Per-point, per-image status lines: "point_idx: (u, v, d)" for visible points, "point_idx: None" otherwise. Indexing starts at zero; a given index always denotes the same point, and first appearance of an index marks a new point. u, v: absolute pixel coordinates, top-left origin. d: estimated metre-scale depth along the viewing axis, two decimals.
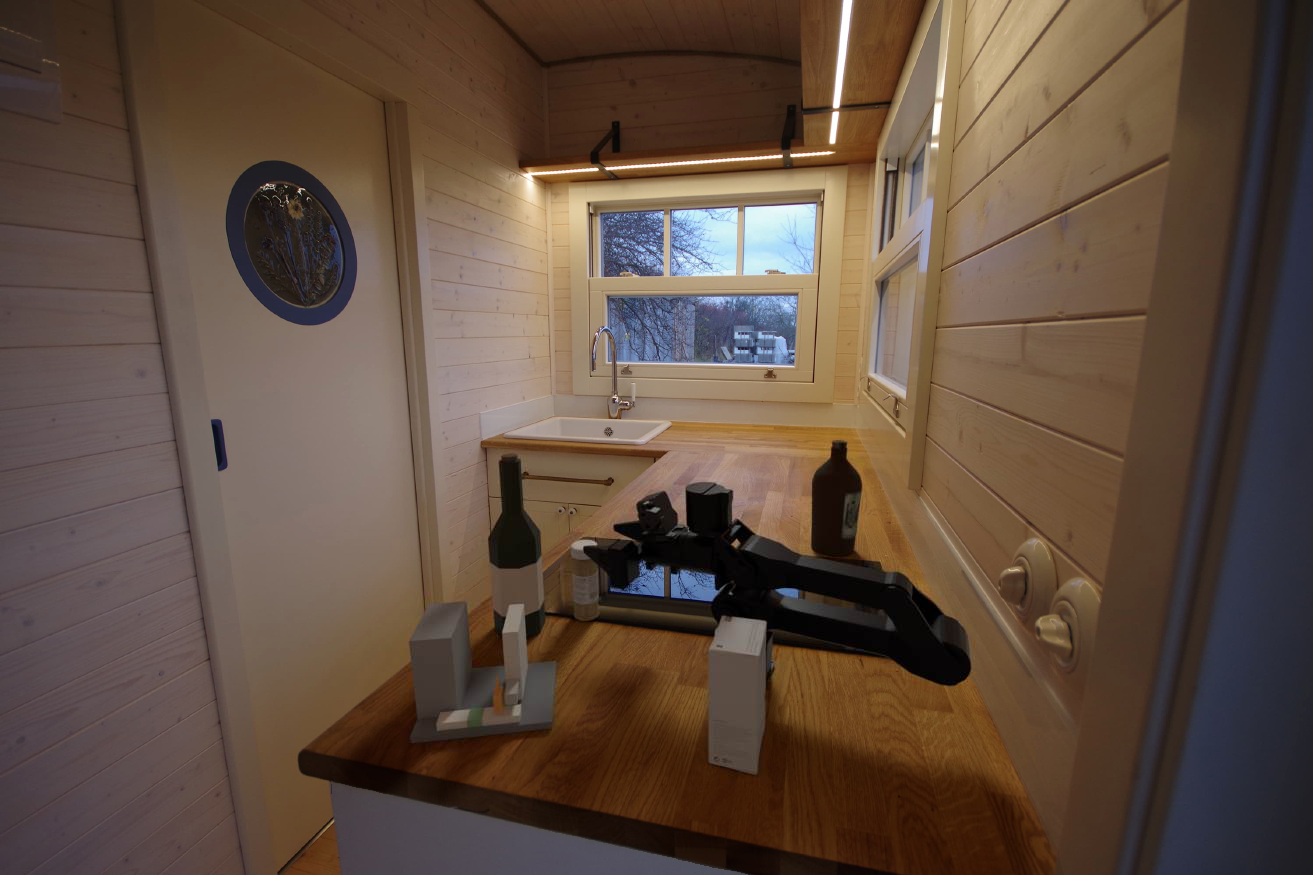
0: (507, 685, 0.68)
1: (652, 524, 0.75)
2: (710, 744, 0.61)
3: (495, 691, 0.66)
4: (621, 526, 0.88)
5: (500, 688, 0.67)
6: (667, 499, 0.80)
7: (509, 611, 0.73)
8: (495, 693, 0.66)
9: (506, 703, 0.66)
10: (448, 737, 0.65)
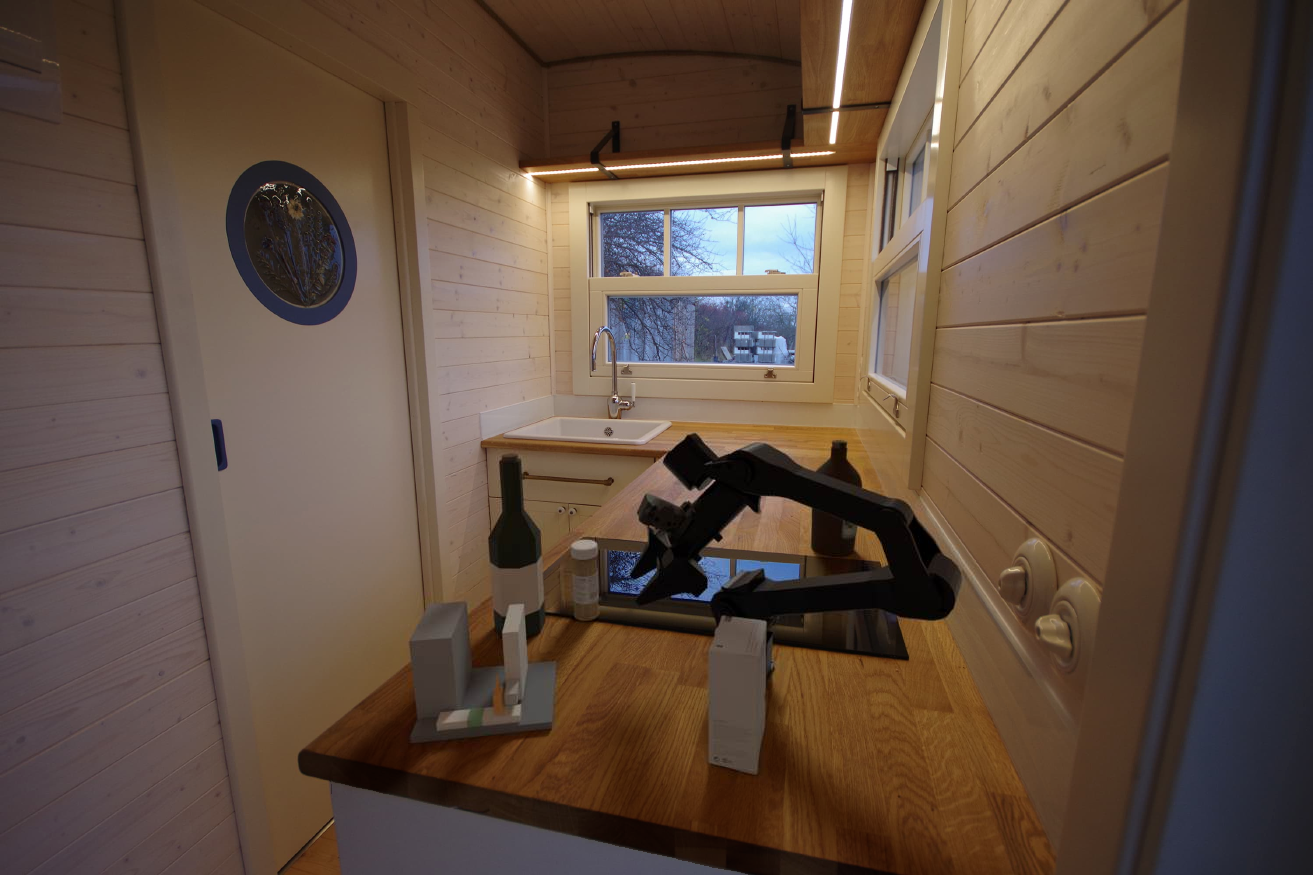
0: (507, 685, 0.68)
1: (671, 518, 0.70)
2: (710, 744, 0.61)
3: (495, 691, 0.66)
4: (637, 568, 0.79)
5: (500, 688, 0.67)
6: (654, 496, 0.75)
7: (509, 611, 0.73)
8: (495, 693, 0.66)
9: (506, 703, 0.66)
10: (448, 737, 0.65)
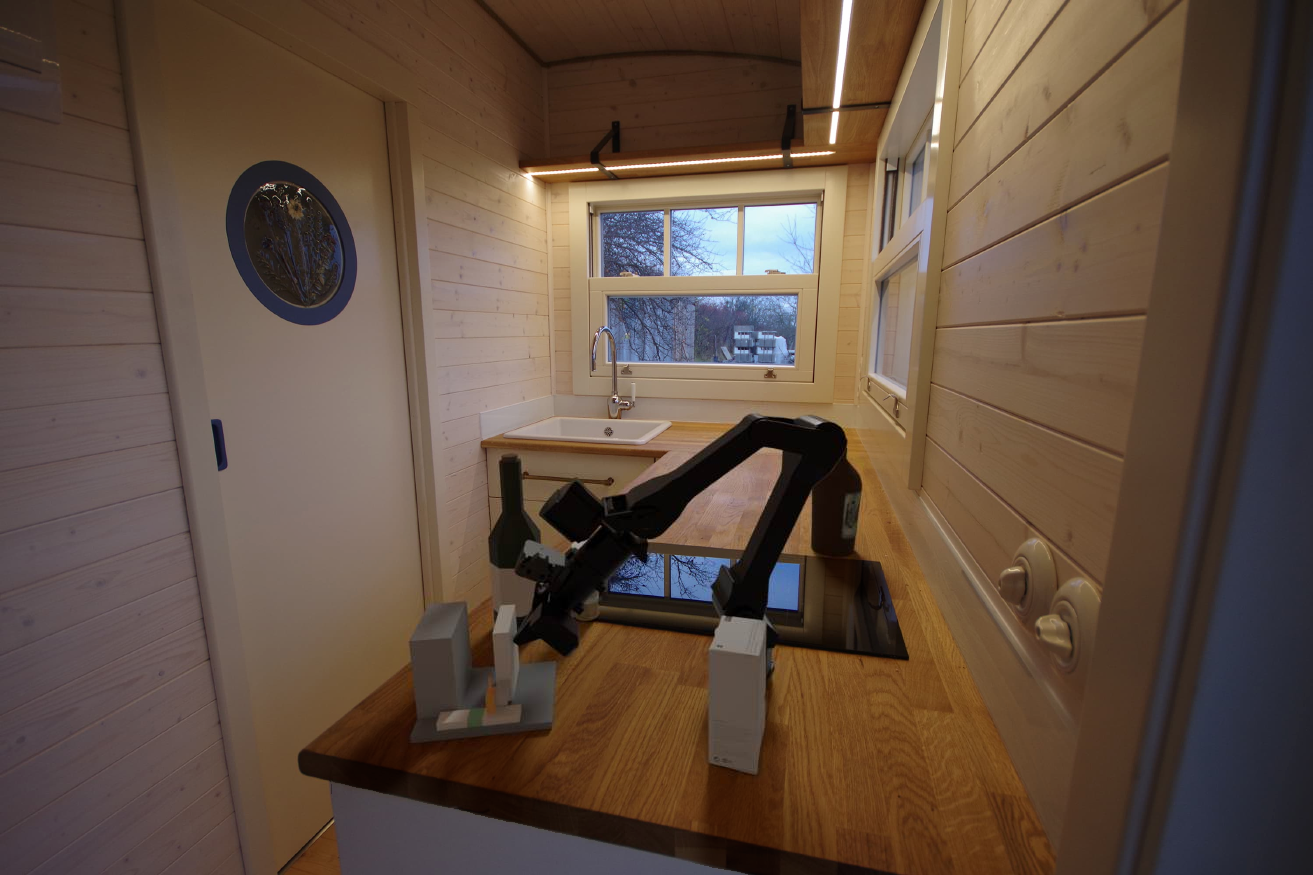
0: (497, 686, 0.68)
1: (544, 570, 0.66)
2: (710, 744, 0.61)
3: (488, 692, 0.66)
4: None
5: (493, 689, 0.67)
6: (536, 543, 0.71)
7: (500, 612, 0.72)
8: (487, 694, 0.66)
9: (496, 704, 0.66)
10: (448, 737, 0.65)
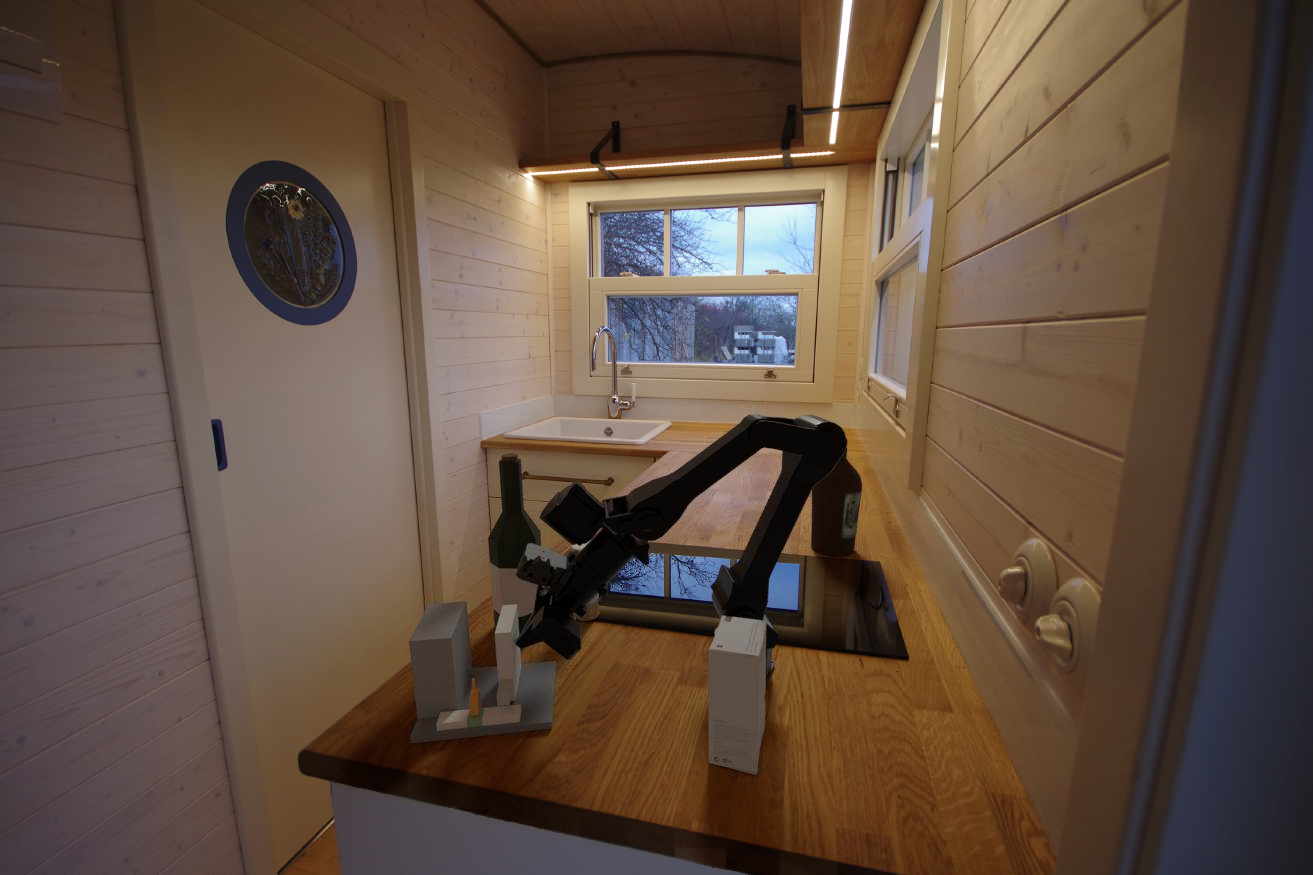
0: (500, 686, 0.68)
1: (546, 573, 0.66)
2: (710, 744, 0.61)
3: (471, 693, 0.66)
4: None
5: (477, 690, 0.66)
6: (537, 546, 0.71)
7: (502, 612, 0.72)
8: (471, 696, 0.65)
9: (498, 704, 0.66)
10: (448, 737, 0.65)
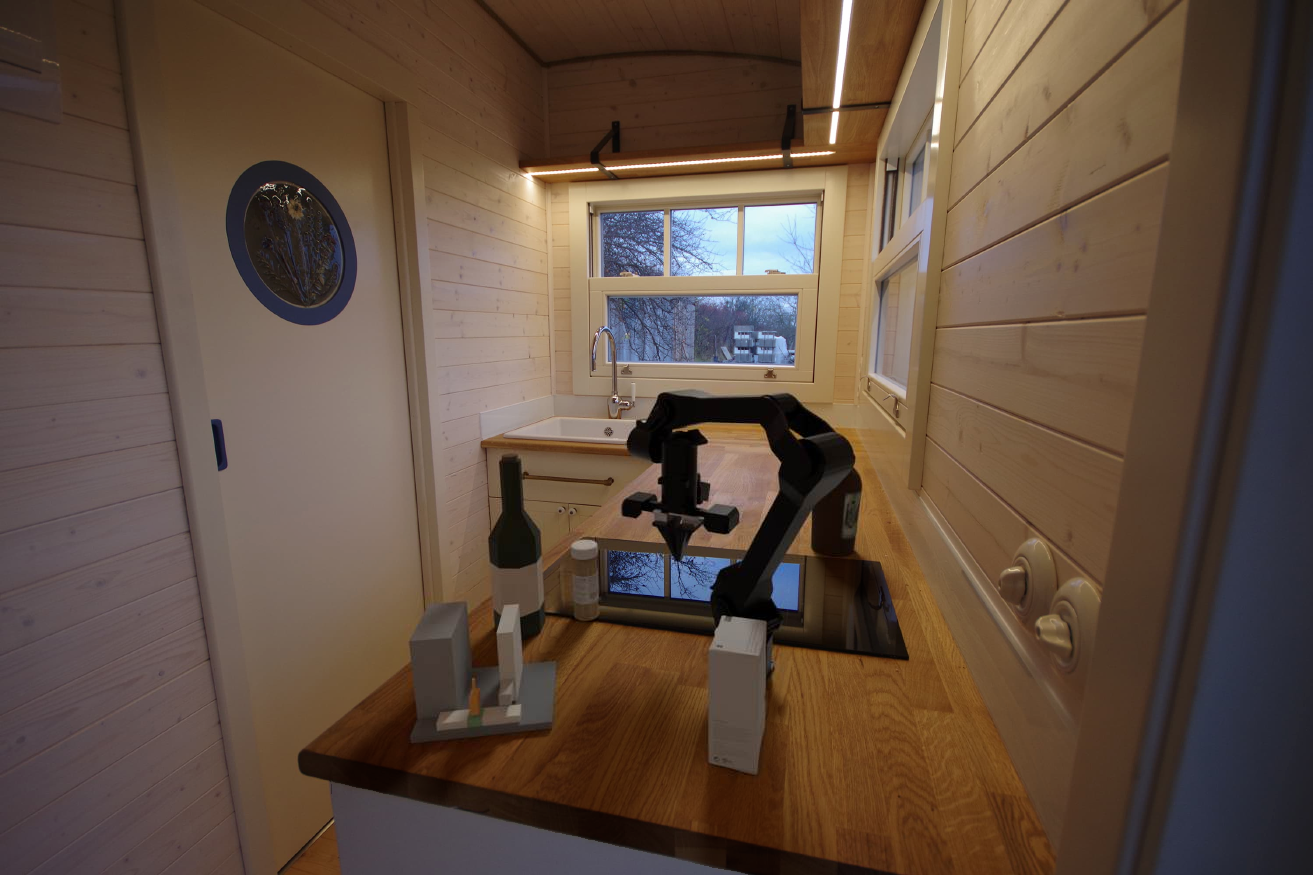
0: (501, 686, 0.68)
1: None
2: (710, 744, 0.61)
3: (471, 693, 0.66)
4: None
5: (477, 690, 0.66)
6: None
7: (504, 611, 0.72)
8: (471, 696, 0.65)
9: (500, 704, 0.66)
10: (448, 737, 0.65)
